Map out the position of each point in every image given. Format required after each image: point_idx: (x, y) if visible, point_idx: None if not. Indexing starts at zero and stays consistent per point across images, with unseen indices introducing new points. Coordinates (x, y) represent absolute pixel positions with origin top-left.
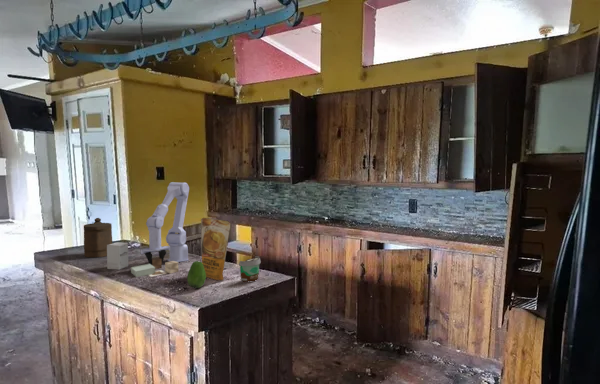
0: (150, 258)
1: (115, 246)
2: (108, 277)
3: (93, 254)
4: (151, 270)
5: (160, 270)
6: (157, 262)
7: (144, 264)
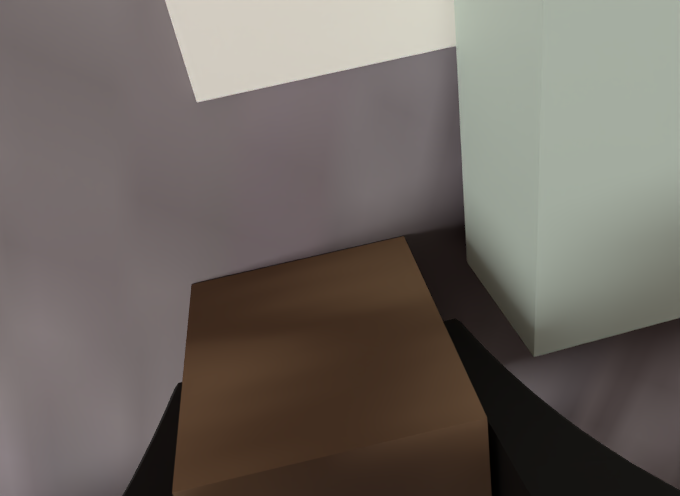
0: (581, 480)
1: None
2: None
3: None
4: None
5: (233, 71)
6: (306, 380)
7: (668, 319)
